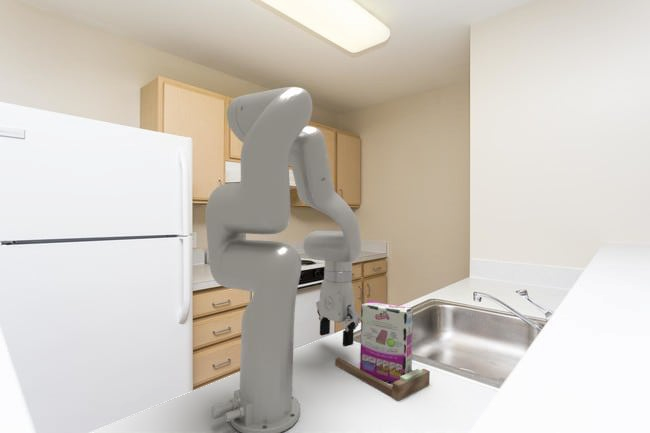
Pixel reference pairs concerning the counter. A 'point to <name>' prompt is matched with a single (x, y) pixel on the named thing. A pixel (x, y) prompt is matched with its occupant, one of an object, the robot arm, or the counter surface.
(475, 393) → the counter surface
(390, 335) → the candy bar box
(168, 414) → the counter surface
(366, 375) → the wooden box holder
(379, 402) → the counter surface
